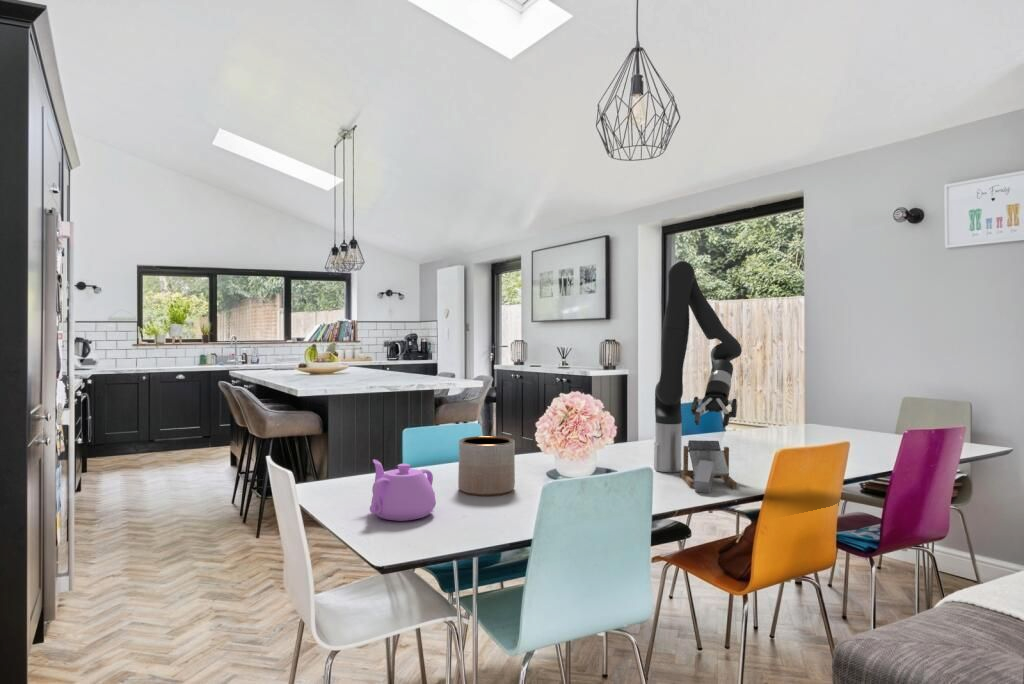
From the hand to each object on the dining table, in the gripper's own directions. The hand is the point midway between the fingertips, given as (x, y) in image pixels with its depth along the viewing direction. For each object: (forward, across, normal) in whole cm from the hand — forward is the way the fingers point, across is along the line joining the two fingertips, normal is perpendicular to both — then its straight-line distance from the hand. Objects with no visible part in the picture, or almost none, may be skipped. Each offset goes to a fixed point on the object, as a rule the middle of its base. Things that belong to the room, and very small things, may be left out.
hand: (710, 424), depth 214 cm
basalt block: (+10, 0, +8) cm, 13 cm away
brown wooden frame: (+10, -2, +19) cm, 21 cm away
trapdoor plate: (+4, -3, +15) cm, 16 cm away
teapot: (+68, -66, -39) cm, 103 cm away
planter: (+43, -60, -14) cm, 75 cm away
